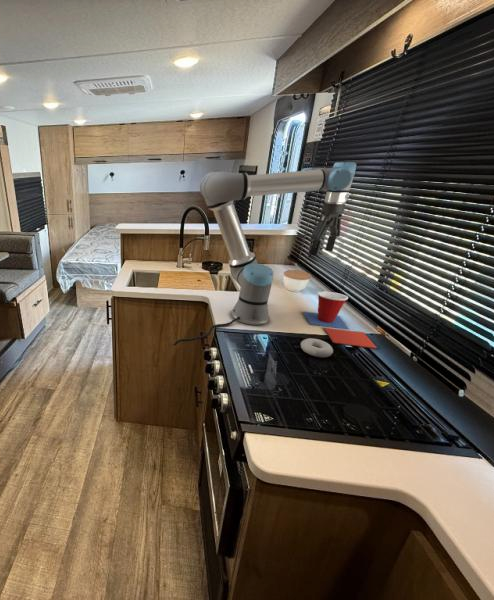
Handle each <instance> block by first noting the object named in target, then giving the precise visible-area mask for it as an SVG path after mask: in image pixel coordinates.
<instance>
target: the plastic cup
mask: <svg viewBox="0 0 494 600" xmlns="http://www.w3.org/2000/svg"><path fill="white" fill-rule="evenodd" d="M316 294H317V299H318V302H317V303H318V304H317V314H318V320H320V321H322V322H326V323H332V322H333V321H334V320H335V318H336V316H339V313H340V311H341V309H342V308H343V306H344V304H345V303H346V301H347V300H348V299H349V296H348V295H346V294H343V293H338V292H333V291H318V292H317V293H316Z"/></svg>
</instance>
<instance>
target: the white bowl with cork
mask: <svg viewBox="0 0 494 600" xmlns="http://www.w3.org/2000/svg"><path fill="white" fill-rule="evenodd" d="M311 278H312V275H311V273H309V272H306V271H302V270H299V269H292V270H291V269H288V270H285V271H284V272H283V278H282V284H283V286H284V287H285V289H286V290H287V291H289V292H294V293H299V292H302V291H303V290H304V289H306V288H307V287H308V285H309V283H310V280H311Z"/></svg>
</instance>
